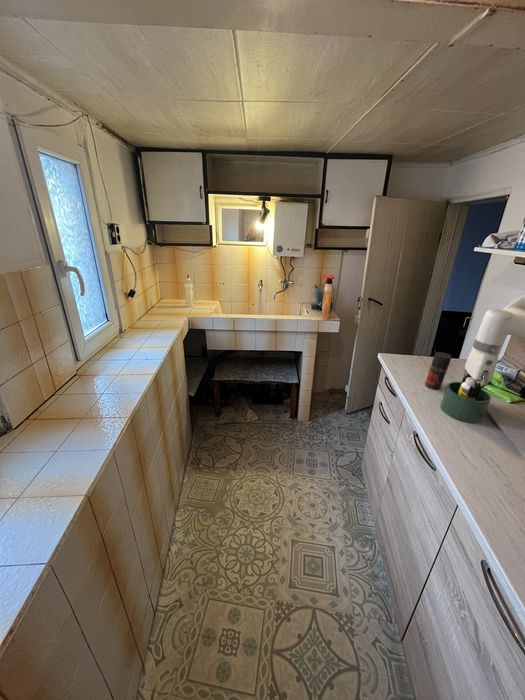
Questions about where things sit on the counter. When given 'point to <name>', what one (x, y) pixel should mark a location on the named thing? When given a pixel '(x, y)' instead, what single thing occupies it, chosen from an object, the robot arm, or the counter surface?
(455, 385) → the crock
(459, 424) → the counter surface
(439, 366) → the deodorant
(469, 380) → the supplement bottle
